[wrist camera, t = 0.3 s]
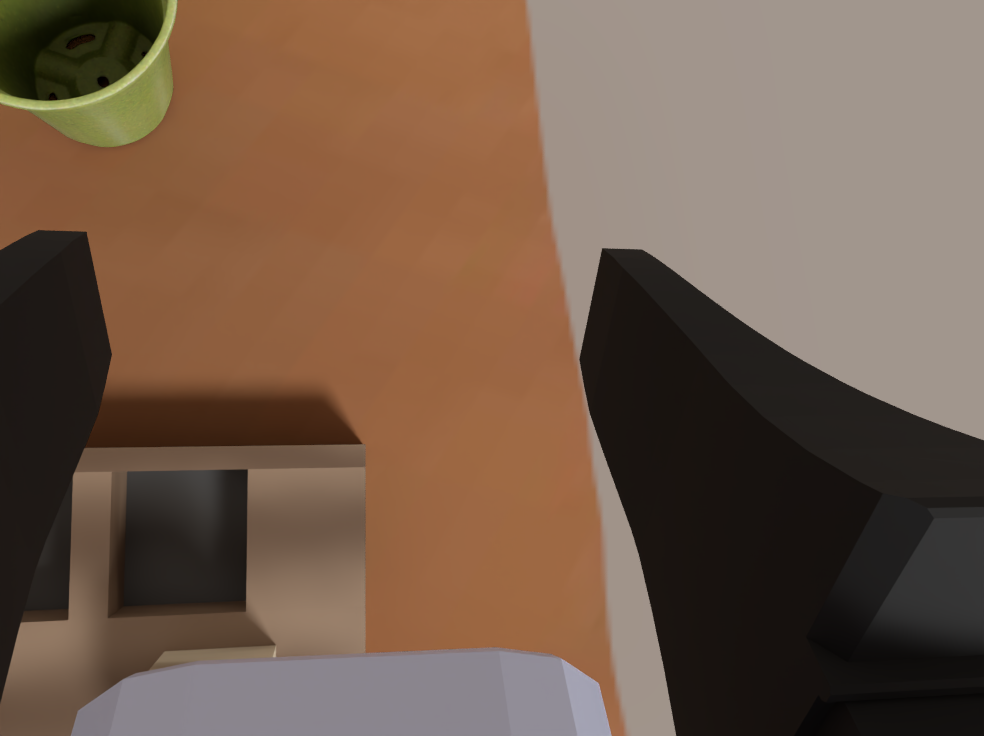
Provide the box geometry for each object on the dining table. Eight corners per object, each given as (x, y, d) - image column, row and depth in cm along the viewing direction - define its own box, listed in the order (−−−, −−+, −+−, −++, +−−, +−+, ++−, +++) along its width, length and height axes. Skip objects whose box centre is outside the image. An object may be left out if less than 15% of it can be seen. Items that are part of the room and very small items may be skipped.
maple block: (275, 755, 35) (266, 799, 31) (162, 764, 35) (137, 810, 30) (276, 645, 36) (268, 673, 31) (164, 651, 35) (140, 680, 31)
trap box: (362, 771, 39) (367, 818, 34) (-177, 816, 35) (-260, 876, 30) (363, 444, 40) (367, 444, 35) (-156, 451, 36) (-232, 451, 31)
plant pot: (-45, 42, 39) (-152, -72, 30) (143, -43, 40) (93, -174, 32) (64, 217, 39) (-12, 153, 30) (246, 124, 41) (224, 38, 32)
